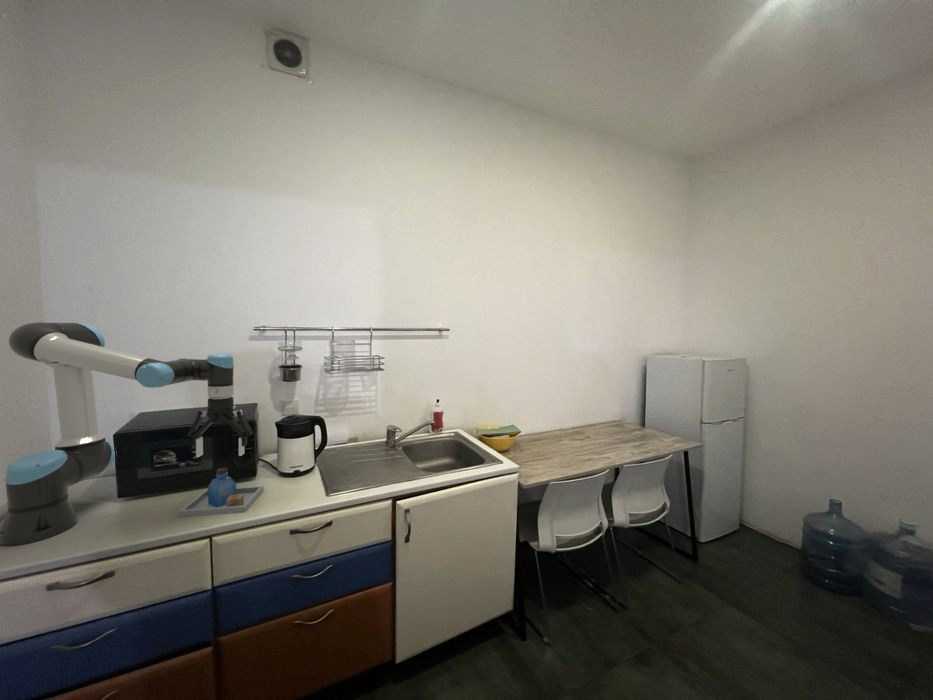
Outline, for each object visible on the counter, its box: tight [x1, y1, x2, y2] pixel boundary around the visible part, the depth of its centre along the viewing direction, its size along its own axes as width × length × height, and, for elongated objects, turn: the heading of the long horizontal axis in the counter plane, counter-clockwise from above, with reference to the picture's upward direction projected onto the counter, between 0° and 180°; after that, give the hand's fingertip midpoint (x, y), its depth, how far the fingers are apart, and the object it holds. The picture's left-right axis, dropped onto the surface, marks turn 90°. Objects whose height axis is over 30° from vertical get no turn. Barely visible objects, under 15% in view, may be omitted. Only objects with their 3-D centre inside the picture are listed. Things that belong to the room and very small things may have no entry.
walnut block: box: [227, 494, 243, 507], centre depth 119 cm, size 4×4×4 cm
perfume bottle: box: [207, 467, 237, 507], centre depth 123 cm, size 6×6×12 cm
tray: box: [178, 485, 264, 518], centre depth 123 cm, size 20×16×2 cm
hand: (220, 455), depth 123 cm, fingers open, 13 cm apart
